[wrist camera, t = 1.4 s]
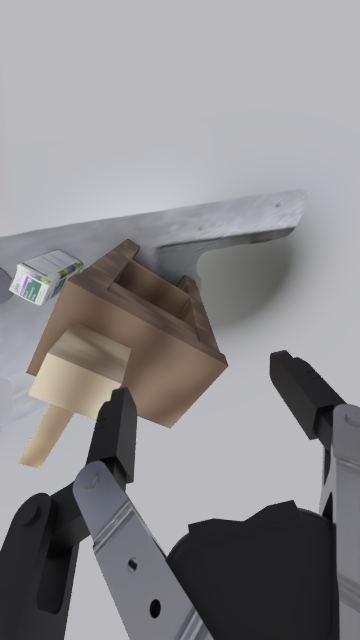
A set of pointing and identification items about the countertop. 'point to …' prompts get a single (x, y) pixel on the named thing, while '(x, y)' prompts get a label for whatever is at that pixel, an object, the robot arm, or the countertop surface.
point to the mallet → (74, 384)
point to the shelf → (142, 331)
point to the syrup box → (43, 276)
